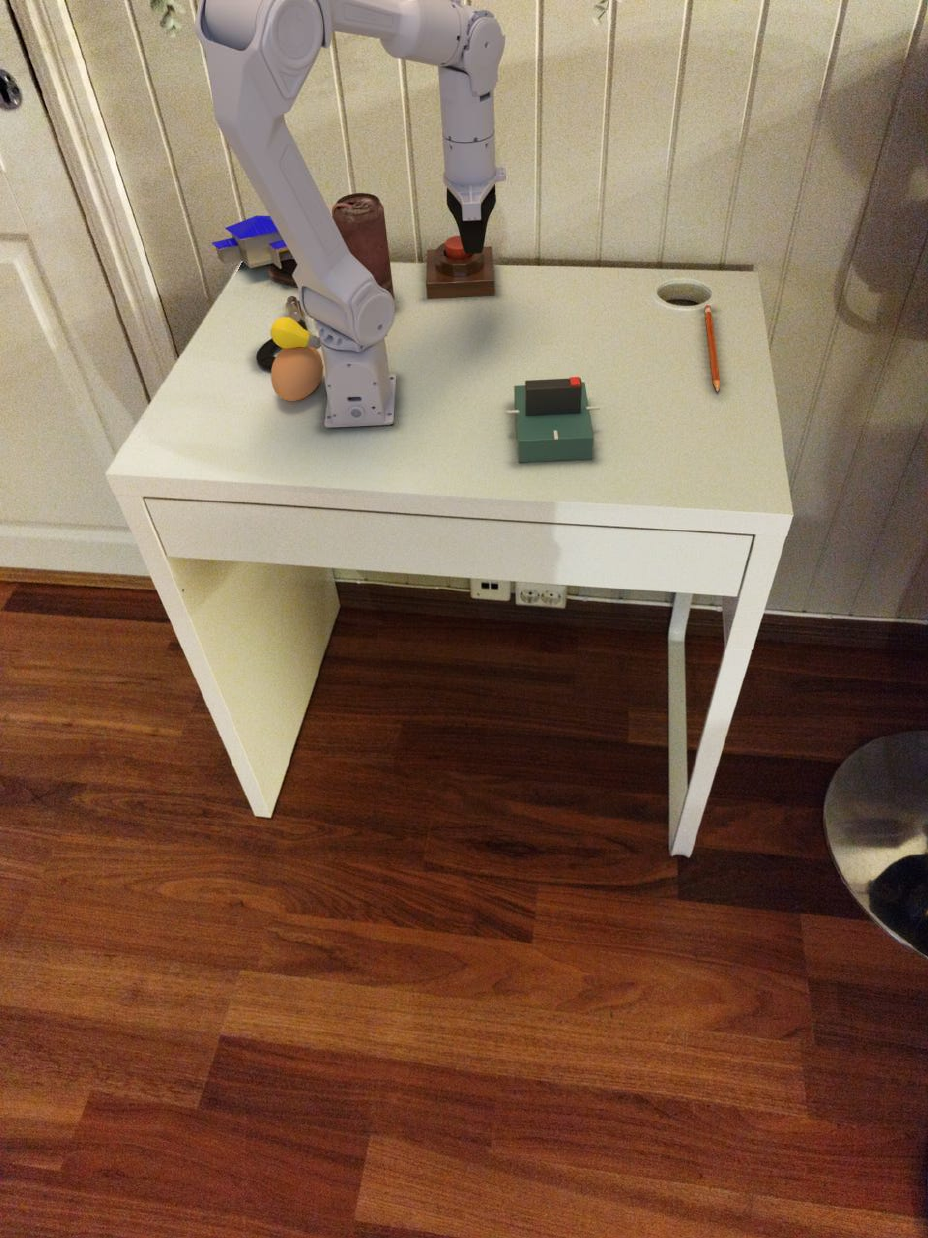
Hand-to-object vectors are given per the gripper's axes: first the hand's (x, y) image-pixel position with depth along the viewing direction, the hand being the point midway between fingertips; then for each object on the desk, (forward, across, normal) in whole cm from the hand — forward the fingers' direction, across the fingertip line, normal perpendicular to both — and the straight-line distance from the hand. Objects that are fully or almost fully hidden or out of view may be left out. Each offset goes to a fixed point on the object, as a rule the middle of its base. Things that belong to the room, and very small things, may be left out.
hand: (473, 250), depth 113 cm
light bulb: (+5, -12, +21) cm, 25 cm away
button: (+7, +12, +2) cm, 14 cm away
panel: (+10, -22, -8) cm, 26 cm away
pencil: (+10, -8, -28) cm, 31 cm away
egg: (+7, -8, +20) cm, 23 cm away
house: (+9, +19, +29) cm, 36 cm away
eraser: (+8, +14, +23) cm, 28 cm away
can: (+11, +6, +14) cm, 19 cm away
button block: (+10, +12, +2) cm, 16 cm away
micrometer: (+9, -1, +26) cm, 27 cm away
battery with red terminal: (+7, -22, -8) cm, 25 cm away
